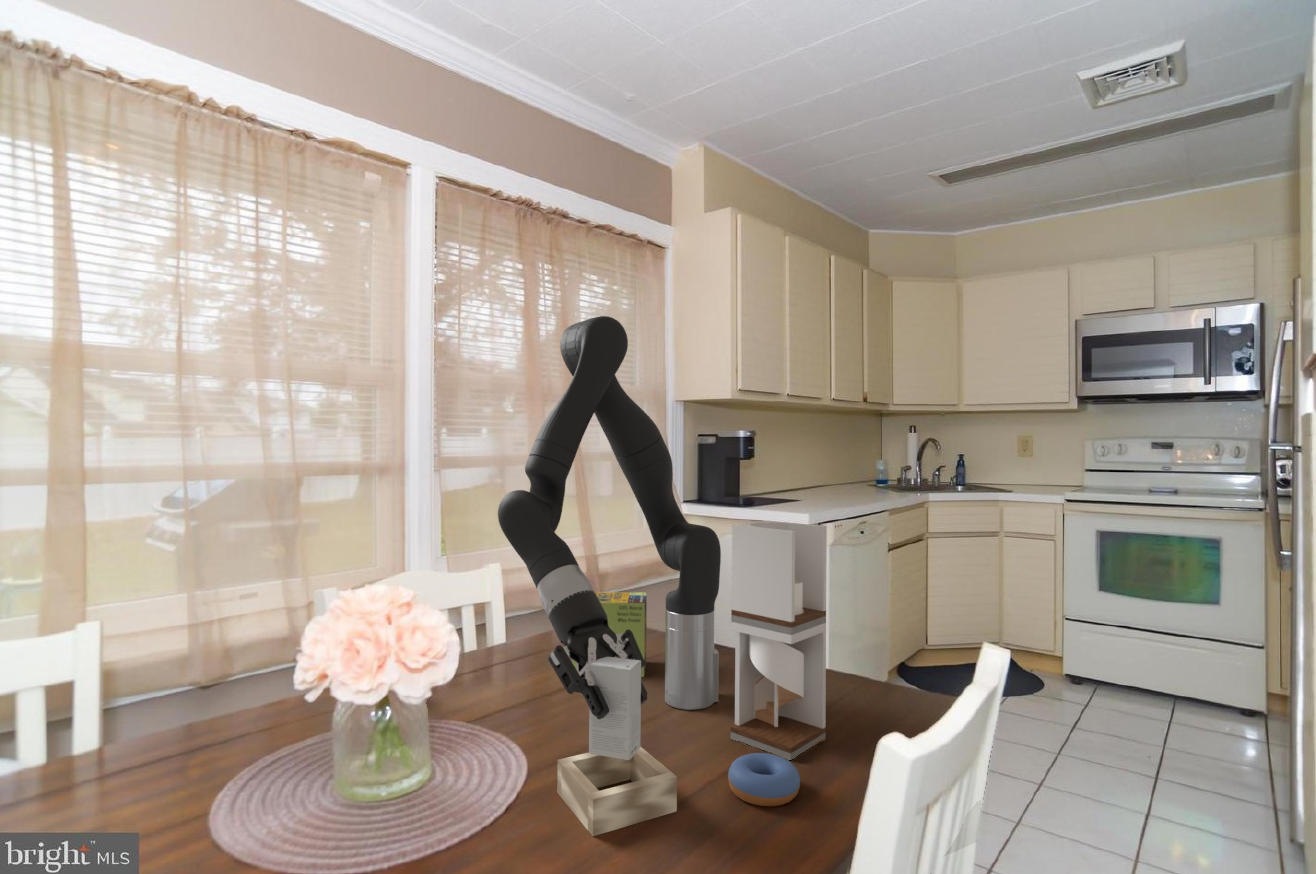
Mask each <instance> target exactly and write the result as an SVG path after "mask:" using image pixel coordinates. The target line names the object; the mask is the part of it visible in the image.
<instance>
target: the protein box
mask: <svg viewBox="0 0 1316 874" xmlns="http://www.w3.org/2000/svg"><path fill="white" fill-rule="evenodd" d="M594 592H595V594H596V595H597V597H598V599H599V601H600V603H601V605H602V607H603V609H604V611H605V612H606V614H607V617H608V626H609V627H610V629H611V630H612V631H613V632H615V634H622V633H624V632H625V631H626V630H631V631H632V633H633V635H634V638H635V640H636V642H637V645H638V647H639V649H640V652H641V654H642V656H643V659H644V661H645V666H644V667H643V668H642V669H641V678H644V677H645V672H646V665H647V628H648V627H647V626H648V625H647V624H648V623H647V621H648V620H647V612H648V611H647V608H648V607H647V603H648V602H647V595H648V593H647V592H620V591H619V592H617V591H605V592H603V591H600V592H598V591H594ZM615 658H617V657H616V656H615ZM634 660H635V659H634ZM571 662H572V663H573V665H574V667H575V668H576V670H577V662H575V661H574V660H572V659H571Z"/></svg>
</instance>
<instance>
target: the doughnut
mask: <svg viewBox="0 0 1316 874" xmlns="http://www.w3.org/2000/svg"><path fill="white" fill-rule="evenodd" d="M727 772H728V773H727V779H728V785H729V788H730V790H731V792H732V793H733V794H734V796H736V797H737V798H738V799H740V800H741V801H743V802H745V803H748V804H751V805H755V806H760V807H777V806H778V807H779V806H783V805H785V804H787V803H790V802H791V801H792V800H794V799H795V798H796V797H797V795H798V794H799V790H800V789H801V788H800V786H801V776H800V773H799V770H798V768H797V767H796V766H795V765H794V764H793V763H792V761H789V760H786V759H784V758H782V757H779V756H776V755H773V754H770V753H767V752H755V753H754V752H753V753H748V754H745V755H744V754H743V755H741V756H739V757H738V758H736V759H735V760H734V761H732V763H731V765H730V767H729V769H728V771H727Z"/></svg>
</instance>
